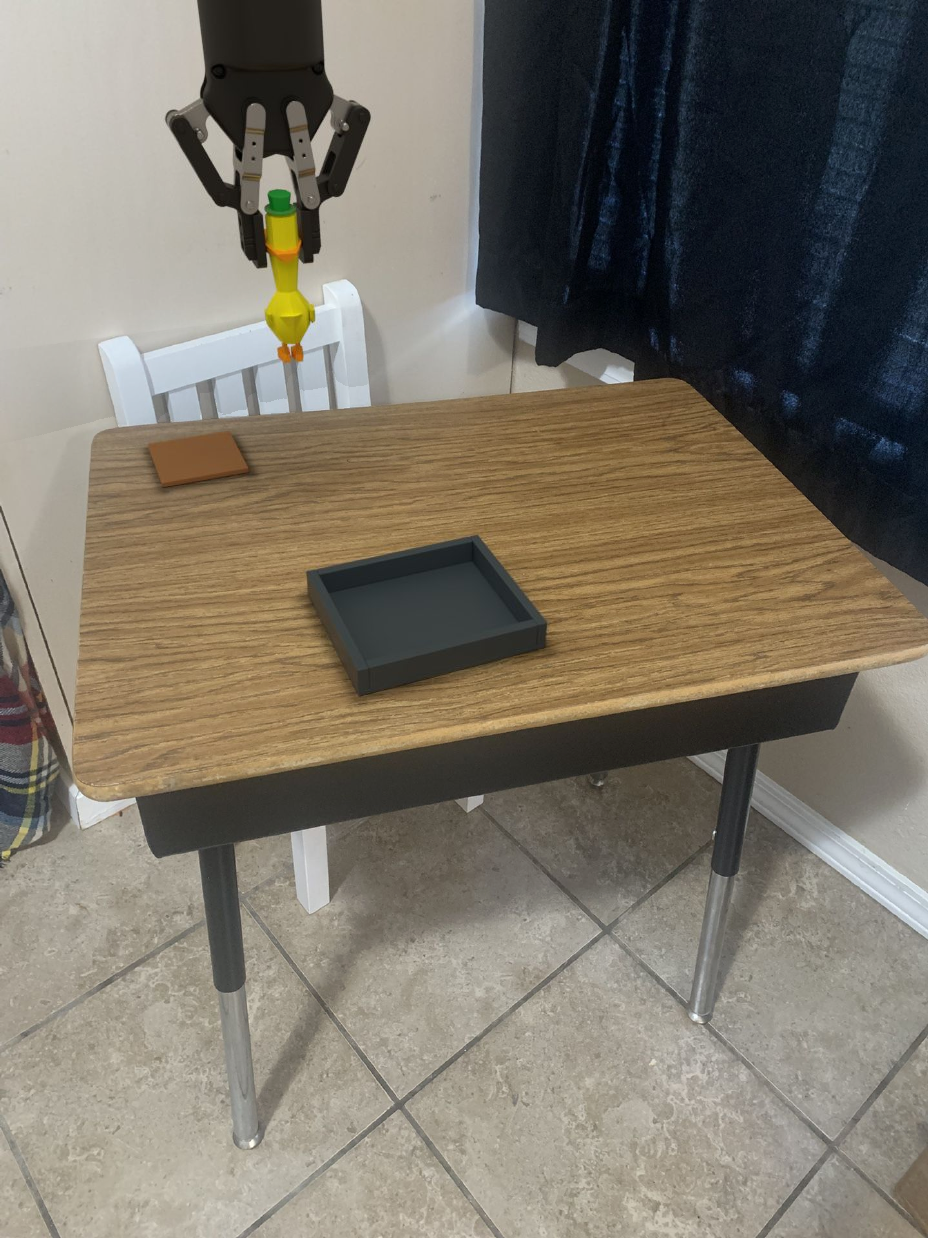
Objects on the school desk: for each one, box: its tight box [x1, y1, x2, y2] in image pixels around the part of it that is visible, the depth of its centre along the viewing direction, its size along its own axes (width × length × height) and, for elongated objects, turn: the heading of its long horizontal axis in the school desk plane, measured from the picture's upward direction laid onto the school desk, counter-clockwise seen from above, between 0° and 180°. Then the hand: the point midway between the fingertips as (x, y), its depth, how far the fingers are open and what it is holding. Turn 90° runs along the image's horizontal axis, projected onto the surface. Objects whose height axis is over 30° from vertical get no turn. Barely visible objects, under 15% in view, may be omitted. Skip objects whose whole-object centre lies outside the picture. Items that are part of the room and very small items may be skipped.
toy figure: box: [263, 188, 316, 364], centre depth 70 cm, size 7×4×12 cm, turn 19°
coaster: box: [147, 430, 250, 488], centre depth 93 cm, size 8×8×1 cm
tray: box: [305, 534, 548, 697], centre depth 74 cm, size 15×13×2 cm
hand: (282, 261), depth 70 cm, fingers closed on toy figure, 2 cm apart
